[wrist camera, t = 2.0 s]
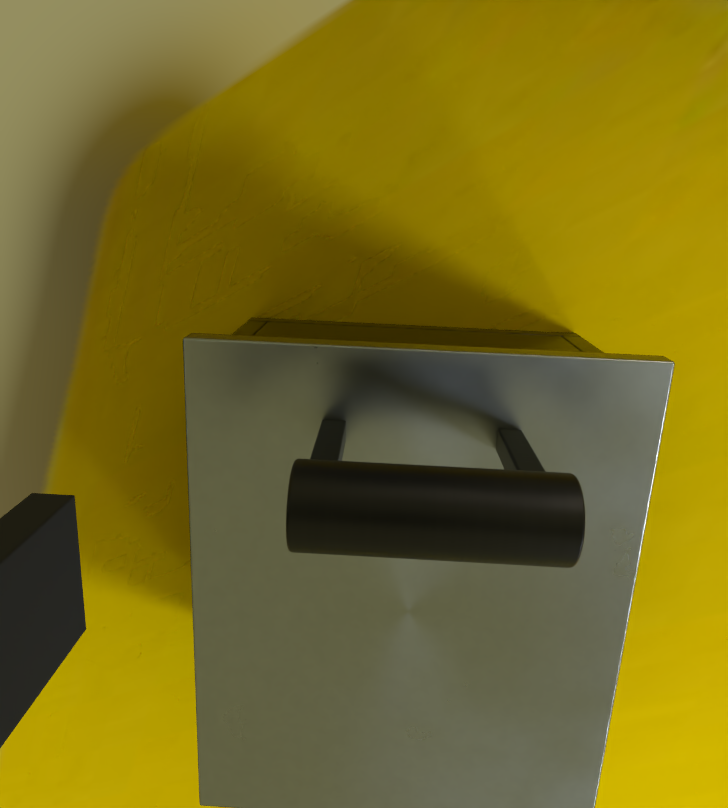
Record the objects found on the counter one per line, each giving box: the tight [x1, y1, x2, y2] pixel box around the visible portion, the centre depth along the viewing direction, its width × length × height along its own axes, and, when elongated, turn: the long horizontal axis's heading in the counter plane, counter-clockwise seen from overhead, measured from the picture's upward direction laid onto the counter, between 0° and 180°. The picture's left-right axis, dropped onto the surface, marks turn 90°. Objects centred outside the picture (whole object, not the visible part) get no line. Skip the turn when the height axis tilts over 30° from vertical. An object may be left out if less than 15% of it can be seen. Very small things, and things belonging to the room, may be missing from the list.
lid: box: [183, 333, 674, 808], centre depth 18 cm, size 17×14×7 cm
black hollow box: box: [232, 318, 604, 353], centre depth 26 cm, size 16×14×9 cm
